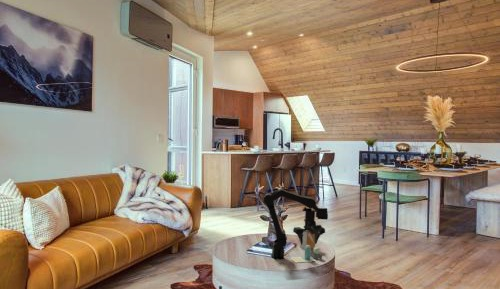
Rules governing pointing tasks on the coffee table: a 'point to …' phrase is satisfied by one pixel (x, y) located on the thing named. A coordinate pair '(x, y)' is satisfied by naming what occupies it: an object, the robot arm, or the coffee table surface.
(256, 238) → the coffee table surface
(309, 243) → the small box
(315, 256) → the frame
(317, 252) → the button
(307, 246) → the teal marker
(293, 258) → the colouring sheet
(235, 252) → the coffee table surface
